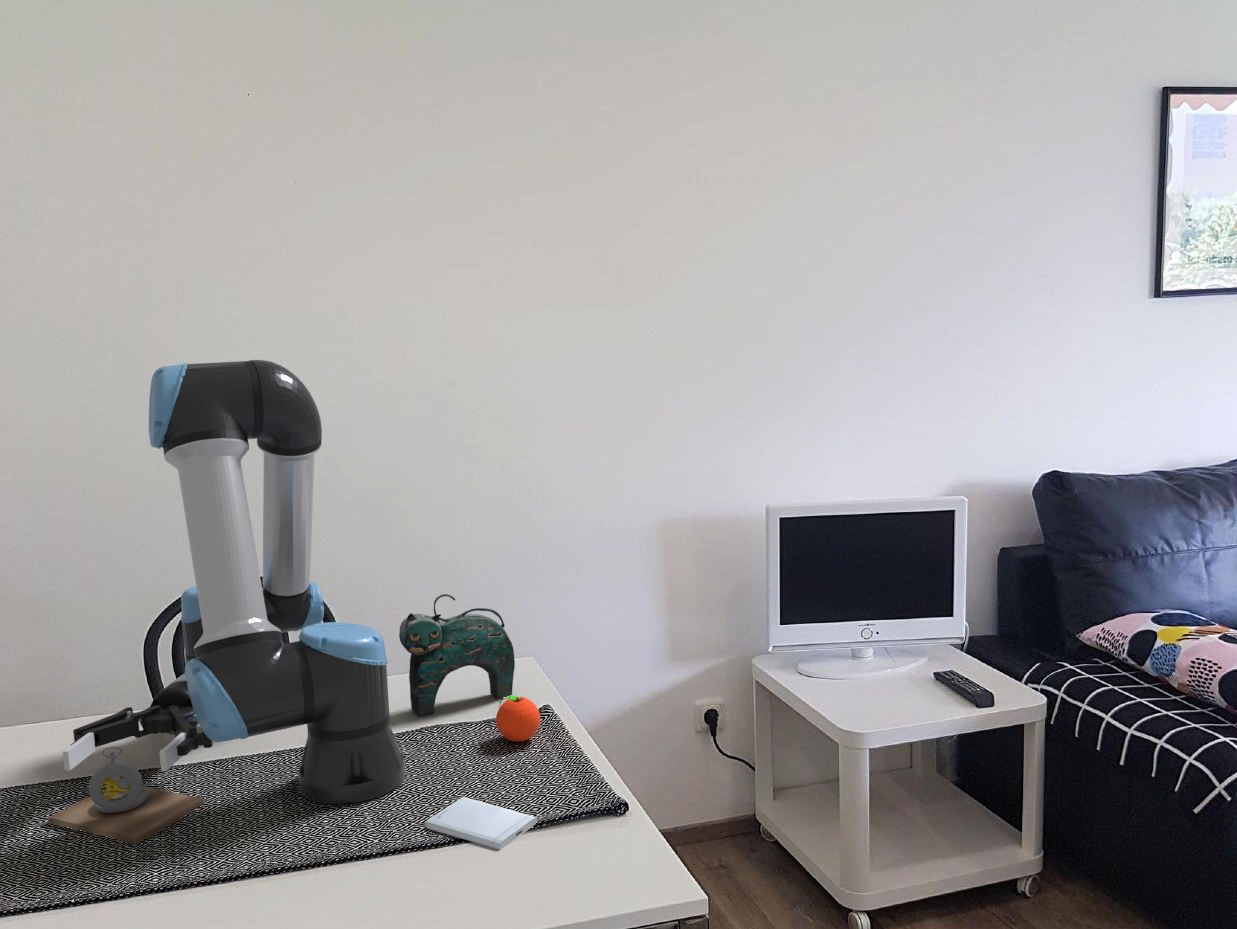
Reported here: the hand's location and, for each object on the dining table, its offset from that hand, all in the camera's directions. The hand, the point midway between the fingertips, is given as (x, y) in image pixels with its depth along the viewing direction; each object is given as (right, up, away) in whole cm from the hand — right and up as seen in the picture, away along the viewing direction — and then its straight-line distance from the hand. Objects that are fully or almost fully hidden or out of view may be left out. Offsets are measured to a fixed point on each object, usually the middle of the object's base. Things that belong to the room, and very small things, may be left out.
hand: (114, 761), depth 151 cm
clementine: (+52, -3, +25) cm, 58 cm away
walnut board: (+1, -8, +3) cm, 9 cm away
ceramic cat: (+41, -1, +41) cm, 58 cm away
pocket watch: (0, -7, +3) cm, 8 cm away
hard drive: (+50, -8, -3) cm, 51 cm away
